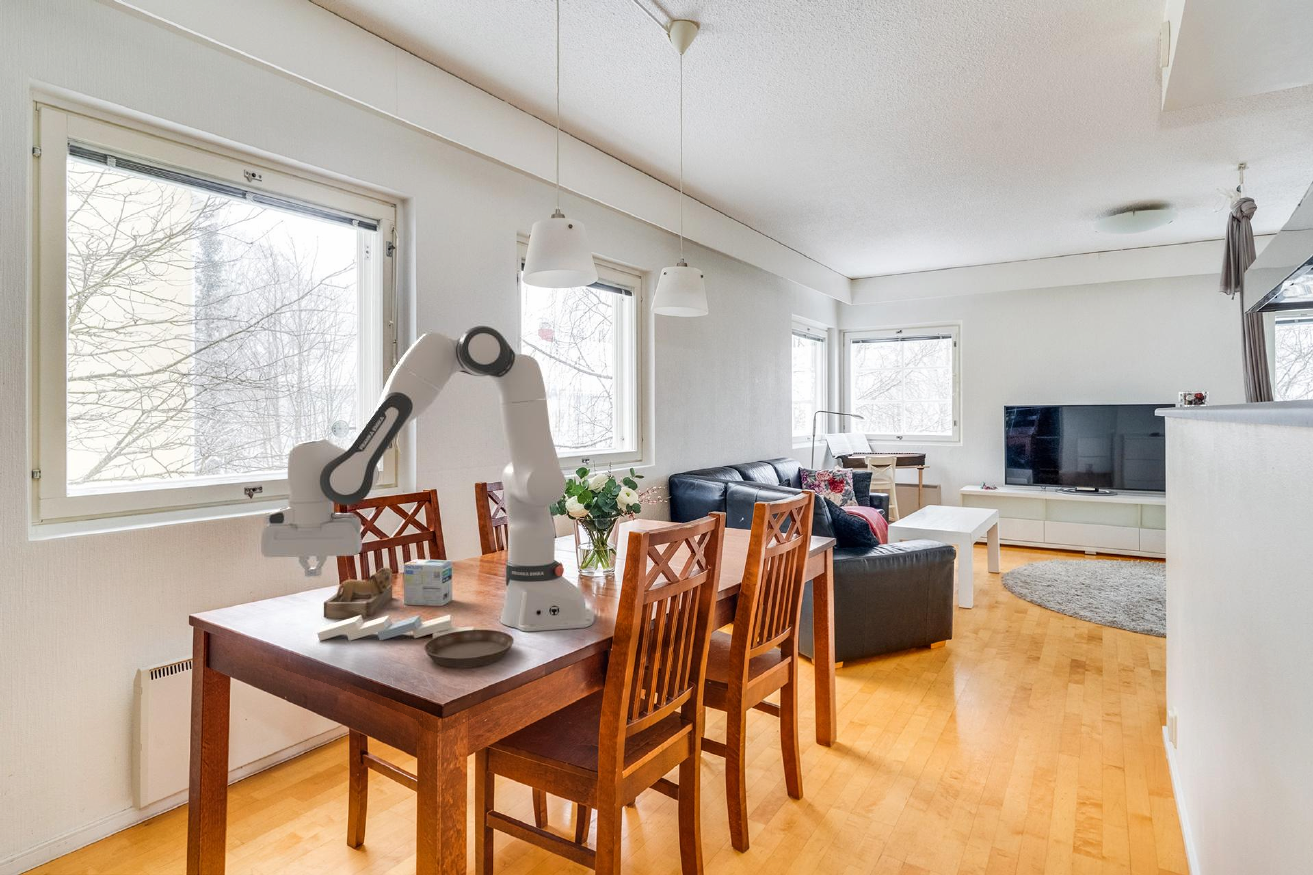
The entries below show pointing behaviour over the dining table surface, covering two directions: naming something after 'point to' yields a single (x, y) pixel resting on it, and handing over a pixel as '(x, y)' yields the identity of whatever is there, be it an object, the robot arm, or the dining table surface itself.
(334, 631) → the domino
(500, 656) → the plant saucer
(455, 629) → the domino
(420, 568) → the light bulb box
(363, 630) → the domino
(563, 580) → the robot arm
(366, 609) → the brown tray
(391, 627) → the domino
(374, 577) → the lion figurine
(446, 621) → the domino
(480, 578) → the dining table surface
